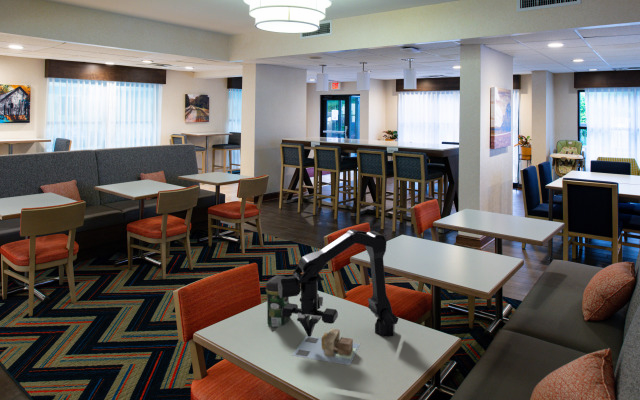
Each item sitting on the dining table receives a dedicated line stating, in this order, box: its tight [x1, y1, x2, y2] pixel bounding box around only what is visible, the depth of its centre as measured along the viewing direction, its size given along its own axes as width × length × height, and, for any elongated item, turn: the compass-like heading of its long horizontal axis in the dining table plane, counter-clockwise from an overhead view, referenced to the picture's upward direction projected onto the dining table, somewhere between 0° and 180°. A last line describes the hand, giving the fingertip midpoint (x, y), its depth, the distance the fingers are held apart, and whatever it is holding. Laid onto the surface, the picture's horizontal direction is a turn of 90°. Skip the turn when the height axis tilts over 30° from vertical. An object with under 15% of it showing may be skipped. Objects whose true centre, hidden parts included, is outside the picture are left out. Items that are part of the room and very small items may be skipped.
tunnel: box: [324, 328, 341, 357], centre depth 154 cm, size 3×8×6 cm, turn 162°
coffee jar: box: [265, 275, 291, 329], centre depth 177 cm, size 10×8×19 cm
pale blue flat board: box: [292, 335, 361, 366], centre depth 155 cm, size 20×14×1 cm
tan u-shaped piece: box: [321, 332, 354, 356], centre depth 154 cm, size 10×4×5 cm, turn 72°
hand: (309, 336), depth 156 cm, fingers closed
